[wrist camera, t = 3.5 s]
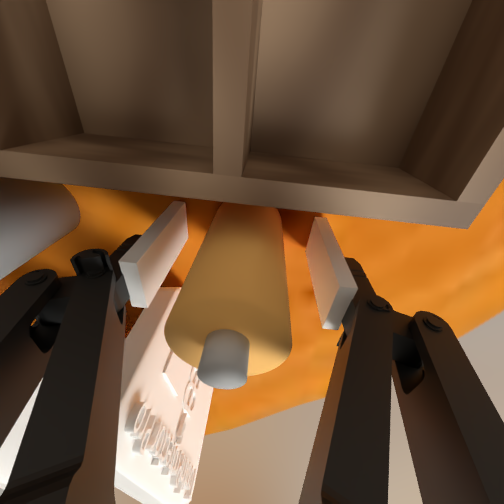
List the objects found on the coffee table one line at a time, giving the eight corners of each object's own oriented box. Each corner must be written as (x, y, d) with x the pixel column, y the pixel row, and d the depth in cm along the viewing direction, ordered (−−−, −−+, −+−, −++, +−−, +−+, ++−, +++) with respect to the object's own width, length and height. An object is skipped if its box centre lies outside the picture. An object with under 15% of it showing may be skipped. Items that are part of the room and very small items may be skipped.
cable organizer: (72, 274, 20) (-119, 447, 10) (192, 271, 18) (107, 461, 9) (136, 369, 28) (67, 513, 18) (222, 371, 27) (195, 525, 17)
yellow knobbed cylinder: (214, 250, 17) (160, 401, 9) (214, 189, 14) (135, 321, 6) (276, 257, 17) (281, 415, 9) (287, 197, 14) (310, 341, 6)
